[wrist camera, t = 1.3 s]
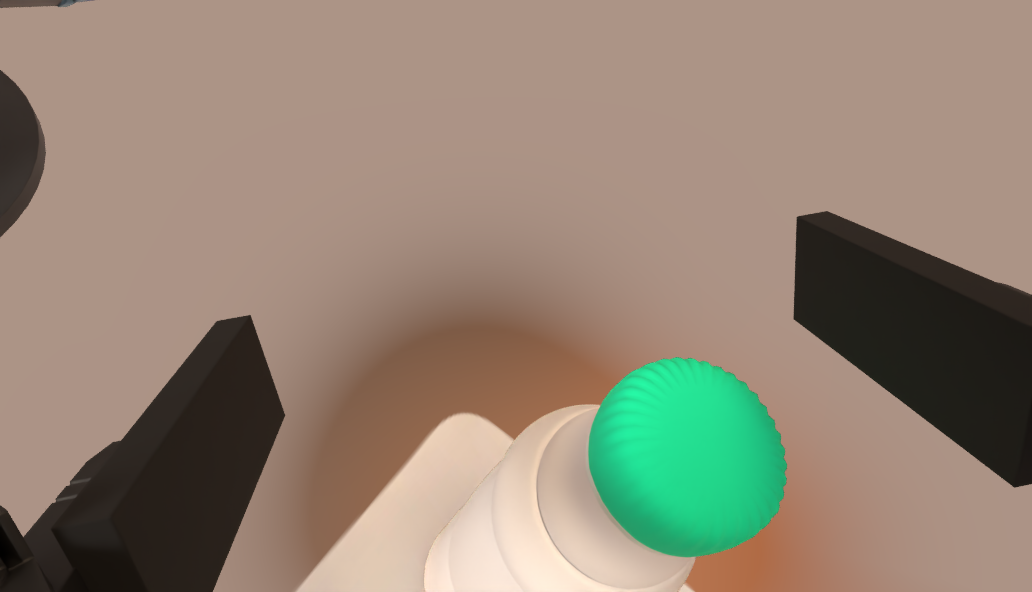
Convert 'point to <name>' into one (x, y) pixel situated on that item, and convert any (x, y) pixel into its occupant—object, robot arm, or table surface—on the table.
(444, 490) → the table surface
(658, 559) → the water bottle
